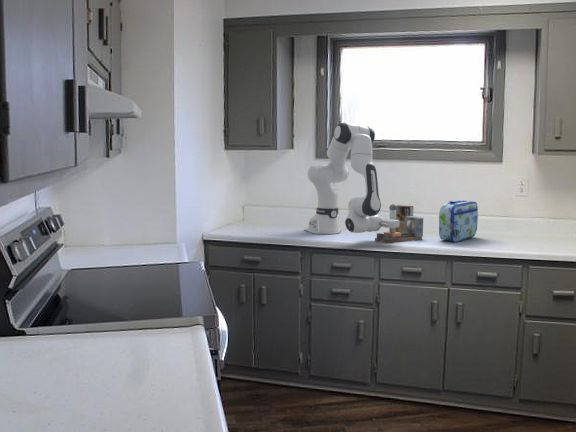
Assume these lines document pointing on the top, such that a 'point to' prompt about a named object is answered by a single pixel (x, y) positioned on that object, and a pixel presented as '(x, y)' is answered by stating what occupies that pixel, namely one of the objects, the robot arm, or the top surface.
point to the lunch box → (458, 220)
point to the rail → (405, 231)
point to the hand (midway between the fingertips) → (393, 220)
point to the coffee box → (402, 216)
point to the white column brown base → (393, 208)
